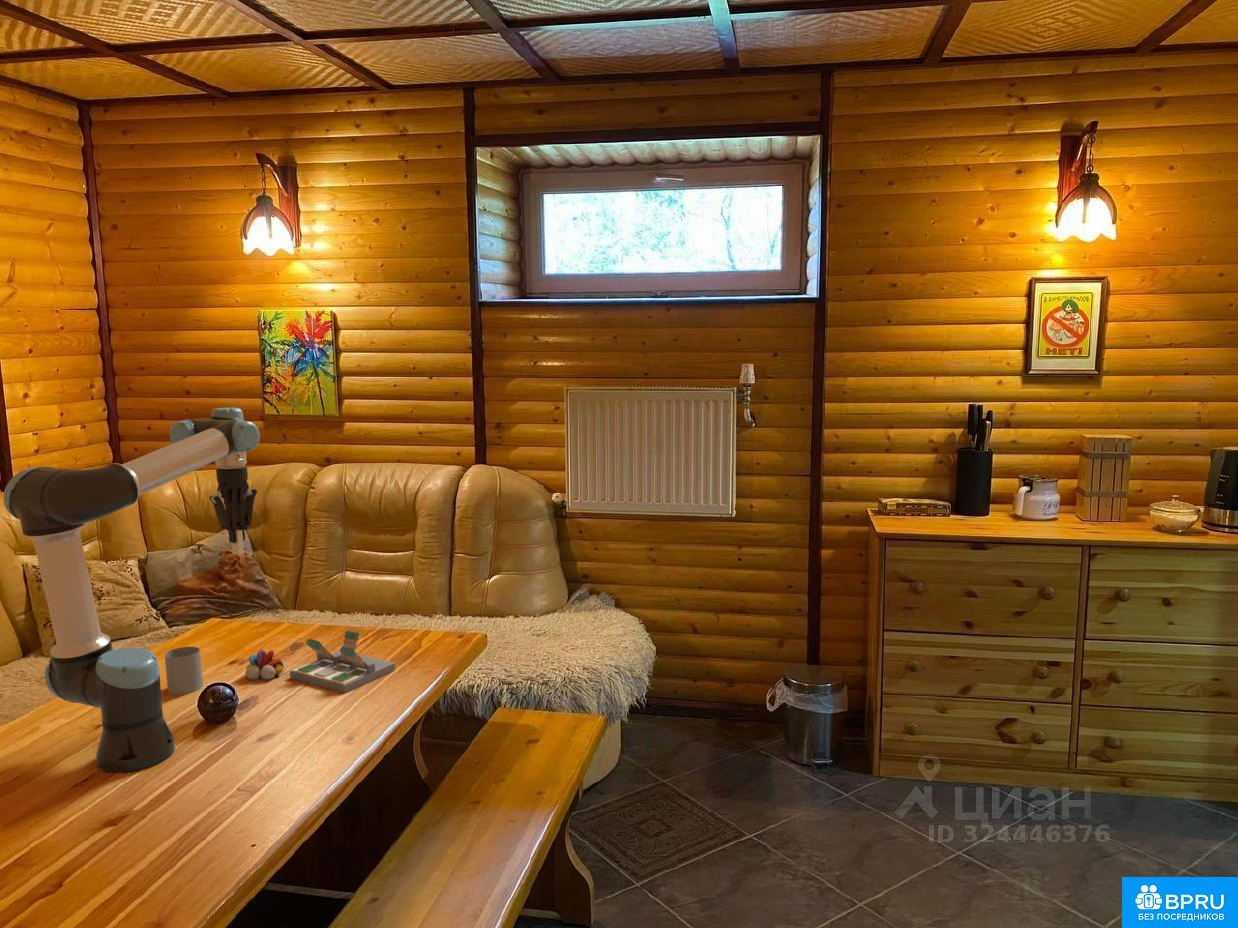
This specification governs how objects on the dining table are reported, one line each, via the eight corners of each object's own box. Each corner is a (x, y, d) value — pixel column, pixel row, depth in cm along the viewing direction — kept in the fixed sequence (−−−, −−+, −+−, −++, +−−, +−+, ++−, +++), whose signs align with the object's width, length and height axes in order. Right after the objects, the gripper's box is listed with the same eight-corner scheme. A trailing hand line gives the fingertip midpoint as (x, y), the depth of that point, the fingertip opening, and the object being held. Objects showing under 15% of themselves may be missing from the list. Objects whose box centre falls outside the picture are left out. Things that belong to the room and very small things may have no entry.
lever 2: (348, 665, 238) (356, 632, 239) (337, 662, 240) (345, 630, 242) (352, 665, 239) (360, 632, 241) (341, 662, 241) (348, 630, 243)
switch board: (345, 692, 226) (344, 677, 225) (290, 678, 237) (289, 663, 236) (395, 669, 241) (394, 655, 241) (341, 656, 252) (340, 642, 251)
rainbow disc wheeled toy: (276, 681, 235) (274, 655, 233) (240, 681, 235) (238, 655, 234) (289, 669, 243) (287, 644, 242) (254, 669, 243) (252, 644, 242)
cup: (209, 682, 234) (206, 646, 233) (191, 694, 226) (188, 658, 225) (179, 681, 235) (176, 646, 234) (160, 694, 227) (157, 657, 226)
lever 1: (334, 662, 242) (315, 645, 236) (323, 659, 244) (304, 642, 238) (336, 658, 242) (318, 641, 236) (325, 655, 244) (307, 638, 239)
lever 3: (368, 671, 235) (350, 653, 229) (356, 668, 237) (338, 650, 231) (370, 666, 236) (353, 649, 230) (359, 663, 238) (341, 646, 232)
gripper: (218, 470, 222) (225, 561, 225) (262, 464, 233) (268, 550, 236) (200, 469, 226) (207, 557, 229) (243, 462, 237) (250, 547, 240)
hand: (238, 553), depth 233 cm, fingers closed
